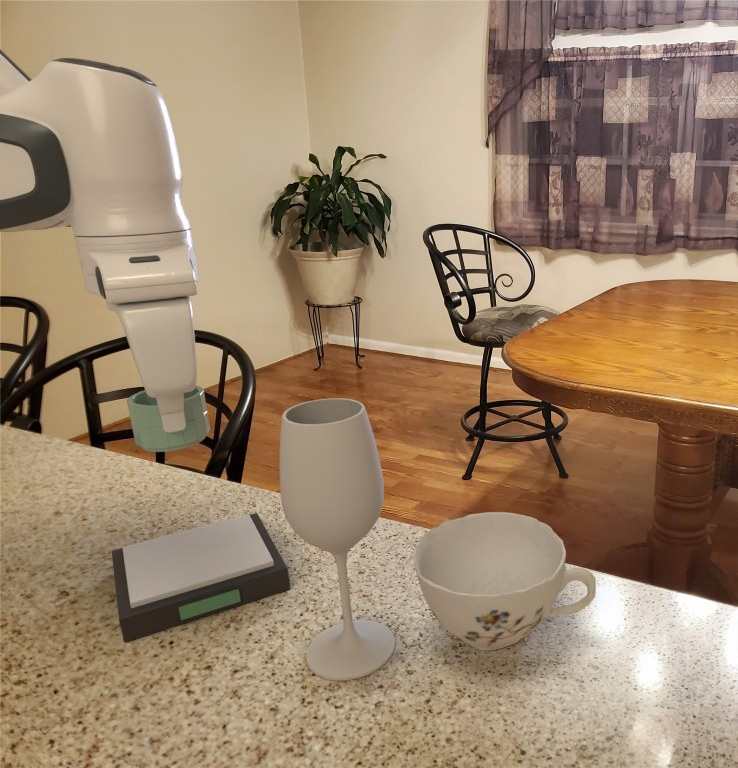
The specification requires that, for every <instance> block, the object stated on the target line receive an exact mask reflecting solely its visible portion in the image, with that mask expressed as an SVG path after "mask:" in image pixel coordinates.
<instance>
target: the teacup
mask: <svg viewBox="0 0 738 768" xmlns="http://www.w3.org/2000/svg"><path fill="white" fill-rule="evenodd" d="M566 559H567V551H566V548H565V545H564V540H563V539H562V538H561V537H559V535H558V534H557V533H556V532H555V531H554V530H553V529H552V526H550V525H548V524H547V523H545V522H542V521H539V520H538V519H537V518H535V517H532V516H527V515H524V514H518V513H514V512H507V511H506V512H505V511H486V512H479V513H472V514H468V515H465V516H463V517H462V516H461V517H458V518H455V519H449V520H445V521H443V522H441V523H440V524H439V525H438V526H435V527H432V528H431V529H429V530H428V531H426V532H425V533H424V534H423V536H421V537H420V538H419V540H418V543H417V545H416V547H415V549H414V553H413V565H414V569H415V572H416V576H417V580H418V583H419V586H420V590H421V592H422V595H423V597H424V599H425V602H426V603H427V605H428V607H429V609H430V611H431V613H432V614H433V615H434V617H435V618H436V619H437V621H438V622H439V623H440V624H441V625H442V626H443V627H444V628H445V629H446V630H447V631H449V633H451V634H452V635H453V636H455V637H456V638H458V639H460V640H462V642H463V643H465V644H467V645H470V646H471V647H473V648H474V649H476V650H480V651H495V650H499V649H503V648H507V647H510V646H513V645H515V644H517V643H518V642H519V641H521V639H523V638H525V637H526V636H528V635H530V634H531V633H532V632H534V630H535V629H536V628H537V627H539V626H540V624H542V623H543V621H544V620H545V619H546V618H550V617H560V616H567V615H568V616H570V615H573V614H577V613H579V612H581V611H582V610H583V609H586V607H588V606H589V605H590V604H591V603H592V601H593V600H594V599H595V598H596V590H597V589H596V588H597V587H596V586H597V585H596V577H595V576H594V574H593V573H592V571H590V570H589V569H587V568H584V567H570V568H566ZM573 581H579V582H582V583H583V584H584V585H585V587H586V591H587V593H586V595H585V596H583V597H582V598H580V600H578V601H575V602H572V603H570V604H565V605H562V606H559V607H553V606H554V604H555V603H556V600H557V598H558V596H559V594H561V592H563V591H564V590H565V589H566V587H567V586H568V585H569V584H570V583H571V582H573Z"/></svg>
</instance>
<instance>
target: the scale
mask: <svg viewBox="0 0 738 768" xmlns="http://www.w3.org/2000/svg"><path fill="white" fill-rule="evenodd" d="M111 557H112V558H111V559H112V567H113V568H112V569H113V577H114V586H115V597H116V605H117V614H118V616H117V617H118V622H119V626H120V630H121V634H122V639H123V642H124V643H128V642H131V641H134V640H138V639H140V638H144V637H146V636H150V635H153V634H156V633H160V632H162V631H165V630H169V629H171V628H174V627H179V626H180V625H184V624H187V623H190V622H194V621H196V620H199V619H202V618H206V617H209V616H212V615H216V614H218V613H221V612H225V611H228V610H231V609H234V608H237V607H240V606H243V605H247V604H250V603H253V602H256V601H259V600H261V599H265V598H268V597H271V596H274V595H277V594H280V593H285V592H287V591H289V590H290V591H291V583H290V582H291V581H290V575H289V569H288V568H289V567H288V566H287V564H286V562H285V560H284V559H283V557H282V555H281V552H279V550H278V548H277V546H276V544H275V542H274V540H273V539H272V537H271V535H270V533H269V531H268V530H267V529H266V526H265V524H264V522H263V521H262V519H261V517H260V515H259V513H258V512H255V513H251V514H250V513H247V514H243V515H240V516H236V517H232V518H228V519H224V520H220V521H216V522H213V523H209V524H205V525H201V526H198V527H193V528H189V529H186V530H182V531H178V532H175V533H174V532H173V533H171V534H167V535H163V536H159V537H155V538H151V539H147V540H144V541H143V540H142V541H140V542H136V543H132V544H128V545H124V546H122V547H120V548H117V549H113V550H111Z"/></svg>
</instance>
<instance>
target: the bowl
mask: <svg viewBox="0 0 738 768" xmlns="http://www.w3.org/2000/svg"><path fill="white" fill-rule="evenodd" d="M183 394H184V415H185V421H186V427H185V429H183V430H181V431H176V432H171V433H168V432H165V430H164V429H163V426H162V421H161V416H160V411H159V407H158V404H157V400H156V398H152V397H150V396H148V394H147V393H146V391H145V389H144V390H141V391H138V392H137V393H134V394H132V395H130V396H129V397H128V398H127V399H126V404H127V410H128V413H129V418H130V424H131V429H132V433H133V439H134V443H135V445H136V446H137V447H140V448H142V450H144V451H146V452H152V453H162V452H163V453H164V452H173V451H178V450H182V449H187V448H190V447H192V446H196V445H197V444H199V443H201V442H202V441H204V440H205V439H206V438H207V435H208V434H209V433H210V431H211V425H210V419H209V413H208V408H207V407H208V405H207V402H206V396H205V391H204V388H203V387H202V386H199V385H196V387H195V389H194V390H193V391H191V392H186V393H183Z"/></svg>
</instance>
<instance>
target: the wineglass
mask: <svg viewBox="0 0 738 768" xmlns="http://www.w3.org/2000/svg"><path fill="white" fill-rule="evenodd" d="M381 465H382V463H381V459H380V455H379V452H378V447H377V443H376V438H375V435H374V431H373V428H372V425H371V421H370V418H369V415H368V412H367V409H366V407H365V405H364V404H363V403H362V402H361V401H358V400H356V399H350V398H343V397H338V398H337V397H336V398H335V397H334V398H333V397H332V398H320V399H314V400H309V401H305V402H301V403H298V404H295V405H293V406H291V407H289V408H287V409H286V410H284V412H283V413H282V416H281V423H280V435H279V493H280V494H279V495H280V500H281V507H282V510H283V515H284V518H285V520H286V521H287V524H289V526H290V528H291V529H292V530H293V532H294V533H295V534H296V535H297V537H300V538H301V539H302V540H303V541H305V542H306V543H308V544H309V545H310V546H313V547H315V548H317V549H319V550H322V551H324V552H326V553H330V555H331V556H332V557H333V558H334V561H335V564H336V569H337V578H338V586H339V594H340V603H341V604H340V605H341V612H342V619H343V622H339V623H336V624H335V625H332V626H330V627H328V628H326V629H324V630H323V631H322V632H320V633H318V634H317V635H316V636H315V637H314V638H313V639H312V640H311V642H310V644H308V647H307V649H306V653H305V659H306V665H307V666H308V668H309V671H311V672H312V673H313V674H314V675H316V676H318V677H320V678H321V679H324V680H330V681H350V680H351V681H352V680H357V679H359V678H362V677H365V676H369V675H371V674H372V673H375V672H376V671H377V670H379V669H380V668H382V667H383V666H385V665H386V663H388V661H389V660H390V659H391V658H392V656H393V653H394V652H395V649H396V639H395V634H394V633H393V631H392V630H391V629H390V628H389V627H388V626H386V625H385V624H384V623H381V622H378V621H375V620H370V619H353V611H352V604H351V595H350V594H351V593H350V585H349V576H348V567H347V563H348V562H347V561H348V554H349V552H350V550H352V549H353V548H354V547H355V546H356V545H357V544H359V542H361V541H362V540H363V539H364V538H365V537H366V536H367V535H368V534H369V533H370V531H372V529H373V527H374V526H375V525H376V524H377V522H378V520H379V519H380V515H381V513H382V510H383V506H384V499H385V486H384V485H385V483H384V475H383V470H382V466H381Z"/></svg>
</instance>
